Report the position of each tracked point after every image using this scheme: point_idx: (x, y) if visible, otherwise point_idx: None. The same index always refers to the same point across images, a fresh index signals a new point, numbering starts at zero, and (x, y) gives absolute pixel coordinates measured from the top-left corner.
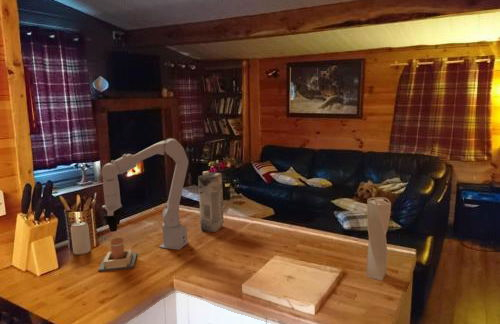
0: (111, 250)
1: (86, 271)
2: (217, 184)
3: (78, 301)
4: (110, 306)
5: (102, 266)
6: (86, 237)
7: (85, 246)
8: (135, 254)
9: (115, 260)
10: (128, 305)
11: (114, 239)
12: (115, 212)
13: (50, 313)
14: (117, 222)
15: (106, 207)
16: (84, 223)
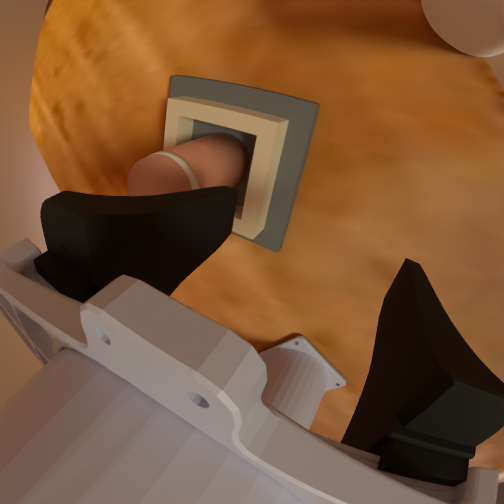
0: (178, 145)
1: (199, 27)
2: None
3: (64, 55)
4: (45, 126)
5: (192, 89)
6: (449, 7)
7: (431, 11)
8: (256, 239)
9: (165, 149)
10: (45, 159)
11: (166, 184)
12: (383, 385)
13: (52, 15)
14: (389, 300)
15: (51, 336)
16: None
